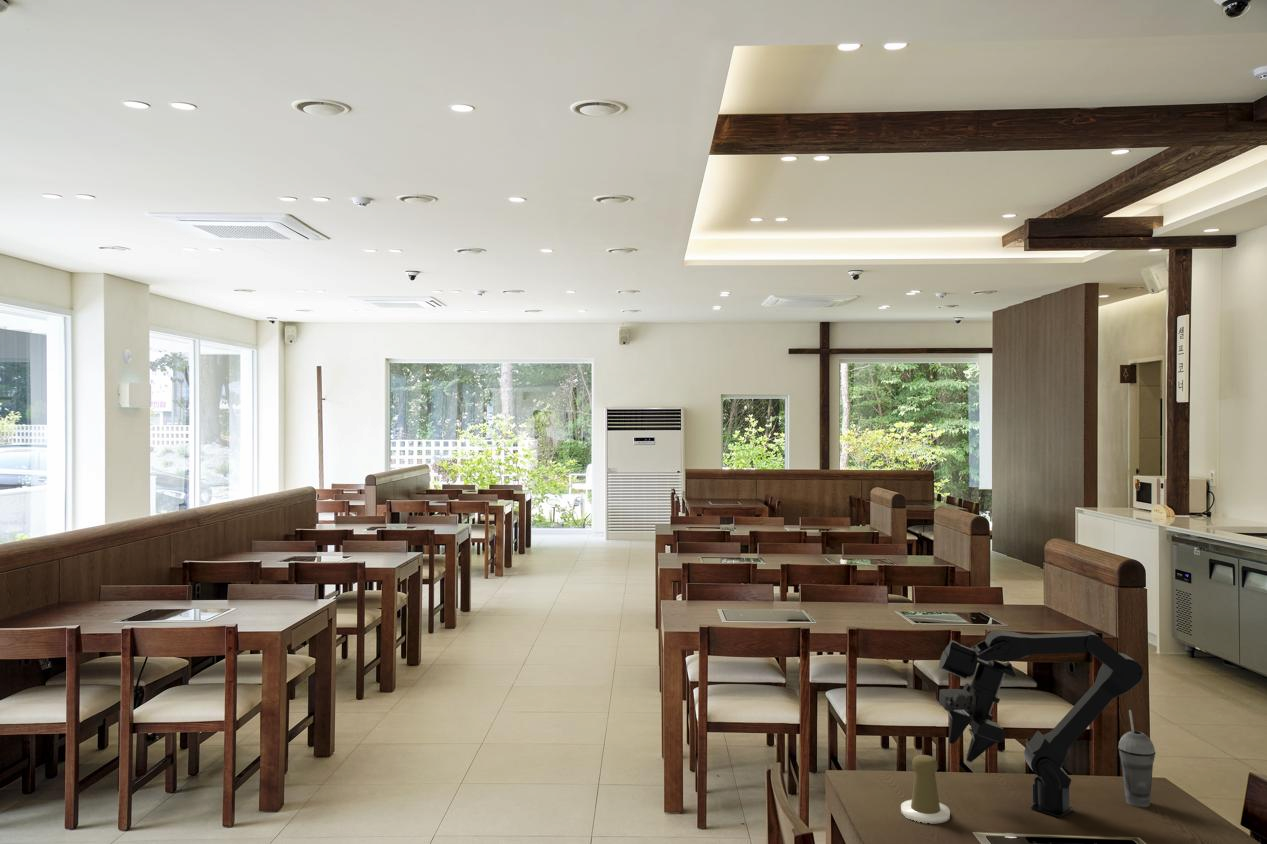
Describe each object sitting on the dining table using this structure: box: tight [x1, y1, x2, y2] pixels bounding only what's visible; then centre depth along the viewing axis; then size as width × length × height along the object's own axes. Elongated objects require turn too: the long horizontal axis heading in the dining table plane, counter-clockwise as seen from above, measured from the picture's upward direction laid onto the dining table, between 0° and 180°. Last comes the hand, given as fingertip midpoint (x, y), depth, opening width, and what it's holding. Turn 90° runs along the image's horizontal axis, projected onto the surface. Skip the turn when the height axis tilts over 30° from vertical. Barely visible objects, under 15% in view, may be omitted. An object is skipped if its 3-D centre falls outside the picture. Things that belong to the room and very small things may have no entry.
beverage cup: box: [1117, 709, 1157, 808], centre depth 200 cm, size 7×7×20 cm
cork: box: [911, 754, 940, 814], centre depth 196 cm, size 6×6×11 cm
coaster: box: [900, 799, 951, 825], centre depth 195 cm, size 10×10×1 cm
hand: (959, 752), depth 201 cm, fingers open, 9 cm apart
